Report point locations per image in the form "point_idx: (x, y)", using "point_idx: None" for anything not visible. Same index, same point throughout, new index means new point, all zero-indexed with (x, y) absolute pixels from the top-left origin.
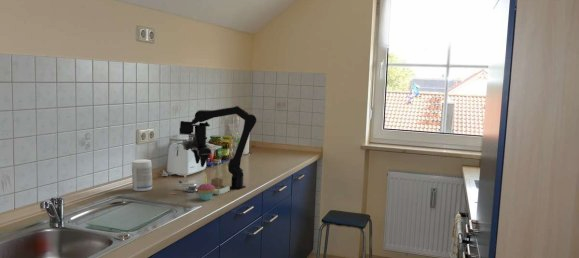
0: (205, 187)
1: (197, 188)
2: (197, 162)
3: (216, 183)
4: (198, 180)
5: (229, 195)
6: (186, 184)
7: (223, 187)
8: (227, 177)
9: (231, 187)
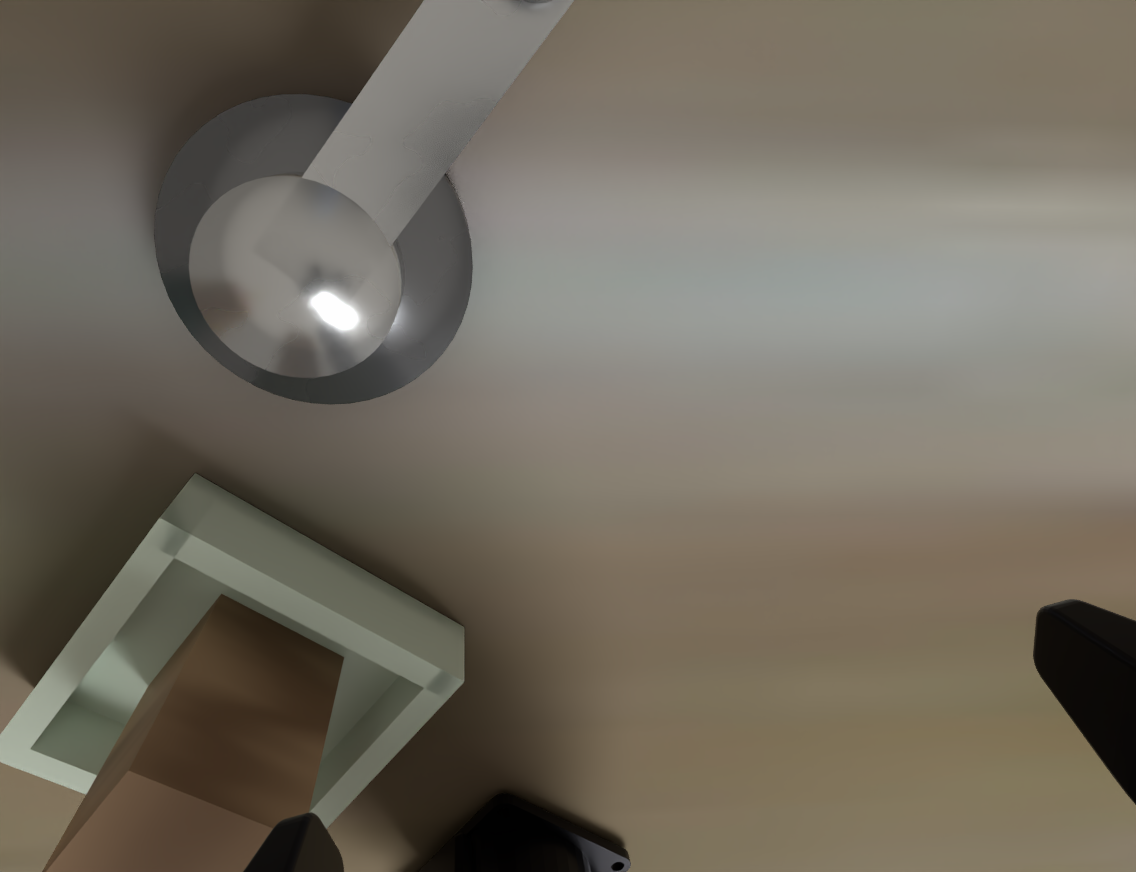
0: None
1: (360, 364)
2: (1066, 668)
3: (93, 789)
4: (1122, 370)
5: (31, 810)
6: (343, 122)
7: (328, 774)
8: None
9: (470, 826)
